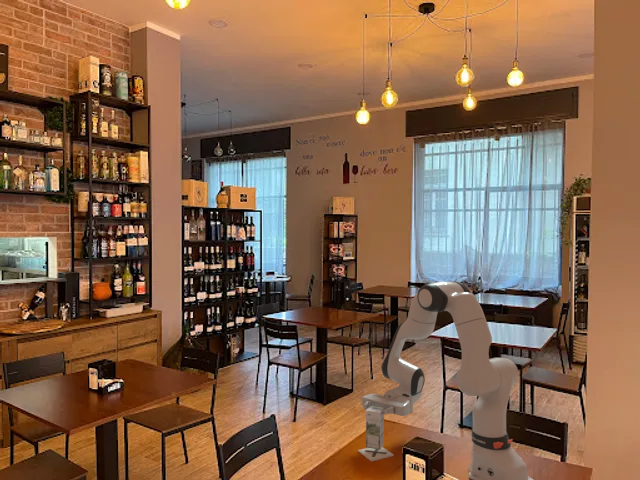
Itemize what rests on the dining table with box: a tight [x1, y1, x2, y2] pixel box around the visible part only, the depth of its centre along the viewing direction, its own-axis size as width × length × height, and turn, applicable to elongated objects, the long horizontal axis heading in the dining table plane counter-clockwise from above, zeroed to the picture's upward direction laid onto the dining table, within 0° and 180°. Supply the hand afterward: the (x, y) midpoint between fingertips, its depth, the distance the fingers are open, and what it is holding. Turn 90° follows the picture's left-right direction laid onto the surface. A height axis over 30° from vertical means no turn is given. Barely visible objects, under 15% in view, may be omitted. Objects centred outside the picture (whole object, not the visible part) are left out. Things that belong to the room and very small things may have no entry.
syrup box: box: [365, 406, 385, 450], centre depth 189 cm, size 6×6×14 cm
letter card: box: [357, 446, 395, 463], centre depth 189 cm, size 10×10×1 cm
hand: (373, 409), depth 188 cm, fingers open, 7 cm apart
